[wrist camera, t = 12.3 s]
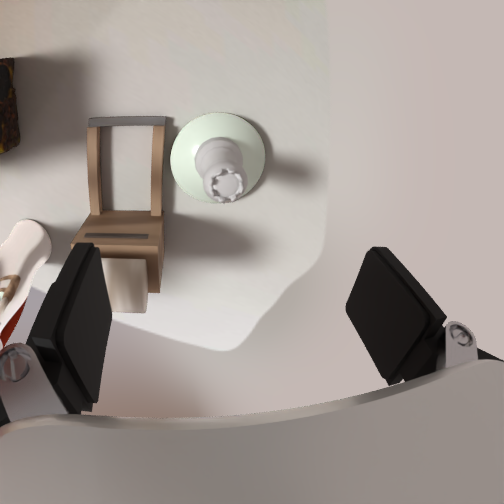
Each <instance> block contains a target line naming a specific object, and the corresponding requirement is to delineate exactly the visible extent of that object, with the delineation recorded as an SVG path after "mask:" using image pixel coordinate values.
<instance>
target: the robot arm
mask: <svg viewBox="0 0 504 504" xmlns="http://www.w3.org/2000/svg"><path fill="white" fill-rule="evenodd" d="M346 313H347V315H348V317H349V318H350V320H351V322H352V324H353V325H354V327H355V329H356V331H357V332H358V334H359V336H360V338H361V339H362V341H363V343H364V345H365V347H366V349H367V350H368V352H369V354H370V356H371V358H372V360H373V361H374V363H375V365H376V367H377V369H378V371H379V373H380V375H381V376H382V378H384V379H386V381H387V383H388V385H389V386H390V385H394V384H397V383H400V381H401V380H402V379H404V381H405V382H404V383H401V384H397V385H394V386H391V387H387V388H383V389H380V390H376V391H372V392H369V393H365V394H361V395H357V396H353V397H348V398H344V399H340V400H335V401H331V402H325V403H320V404H315V405H310V406H304V407H298V408H292V409H286V410H278V411H271V412H263V413H254V414H245V415H234V416H220V417H201V418H132V417H113V416H96V415H81V411H89V412H92V406H93V403H97V402H98V398H99V390H100V383H101V375H102V369H103V363H104V357H105V351H106V346H107V341H108V336H109V331H110V326H111V321H112V308H111V304H110V300H109V295H108V291H107V286H106V281H105V276H104V271H103V266H102V260H101V254H100V249H99V248H98V247H95V246H94V244H93V243H84V242H78V243H76V244H75V245H74V247H73V249H72V251H71V252H70V254H69V256H68V258H67V260H66V262H65V264H64V266H63V268H62V269H61V271H60V273H59V275H58V277H57V279H56V282H54V283H52V285H51V286H50V288H49V290H48V293H47V295H46V297H45V299H44V301H43V303H42V306H41V308H40V310H39V312H38V315H37V317H36V320H35V322H34V324H33V326H32V329H31V332H30V334H29V336H28V339H27V342H26V344H23V343H13V344H10V345H8V346H6V347H4V348H3V349H1V351H0V504H504V361H503V360H500V359H499V358H497V357H495V356H493V355H491V354H489V353H487V352H485V351H482V350H481V349H478V348H477V345H476V339H475V336H474V335H473V333H472V332H471V330H470V329H469V328H467V327H466V326H465V325H463V324H462V323H459V322H456V321H451V322H449V323H448V324H447V325H446V326H445V328H444V327H443V326H442V324H443V322H444V321H445V320H446V318H447V316H446V315H445V314H444V312H443V311H442V310H441V309H440V307H439V306H438V305H437V304H436V303H435V301H434V300H433V299H432V298H431V296H430V295H429V294H428V293H427V292H426V291H425V289H424V288H423V287H422V286H421V285H420V283H419V282H418V281H417V280H416V279H415V278H414V277H413V276H412V274H411V273H410V272H409V271H408V270H407V269H406V268H405V266H404V265H403V264H402V263H401V262H400V261H399V260H398V259H397V258H396V257H395V256H394V254H393V253H392V252H391V251H390V250H389V249H388V248H387V247H372V248H371V249H370V250H369V251H368V252H367V253H366V255H365V258H364V260H363V263H362V266H361V269H360V271H359V274H358V276H357V279H356V281H355V284H354V286H353V289H352V291H351V293H350V296H349V298H348V301H347V303H346Z"/></svg>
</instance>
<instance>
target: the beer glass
mask: <svg viewBox="0 0 504 504" xmlns="http://www.w3.org/2000/svg"><path fill="white" fill-rule="evenodd" d="M51 250H52V245H51V240H50V237H49V235H48V233H47V232H46V230H45V229H44V228H43V227H42V226H41V225H40V224H39V223H37V222H35V221H33V220H29V219H25V220H21V221H19V222H18V223H17V224H16V225H15V226H14V227H13V229H12V231H11V233H10V235H9V237H8V238H7V239H6V241H5V242H4V243H3V244H2V245H0V351H1V349H3V348H4V347H5V345H6V343H7V342H8V340H9V338H10V336H11V334H12V333H13V331H14V329H15V327H16V325H17V323H18V321H19V319H20V316H21V314H22V312H23V309H24V306H25V303H26V300H27V297H28V294H29V291H30V287H31V284H32V281H33V278H34V276H35V274H36V272H37V270H38V269H39V268H40V267H41V266H42V265H43V264H44V263H45V262H46V261H47V260H48V258H49V257H50V254H51Z"/></svg>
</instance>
